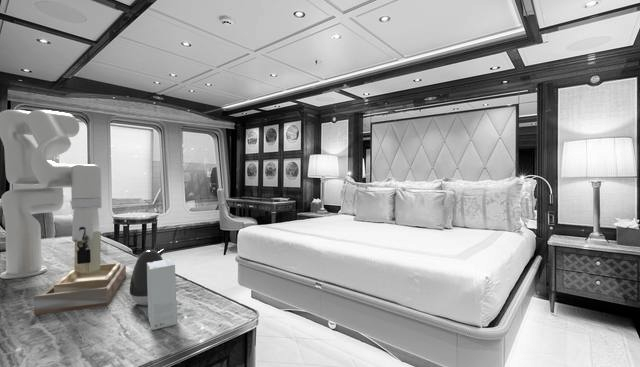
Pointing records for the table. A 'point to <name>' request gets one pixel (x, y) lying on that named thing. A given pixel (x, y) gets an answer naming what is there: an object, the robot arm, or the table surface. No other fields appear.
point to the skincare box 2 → (161, 294)
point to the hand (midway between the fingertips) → (87, 259)
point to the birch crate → (87, 279)
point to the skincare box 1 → (94, 252)
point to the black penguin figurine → (142, 276)
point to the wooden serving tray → (77, 297)
